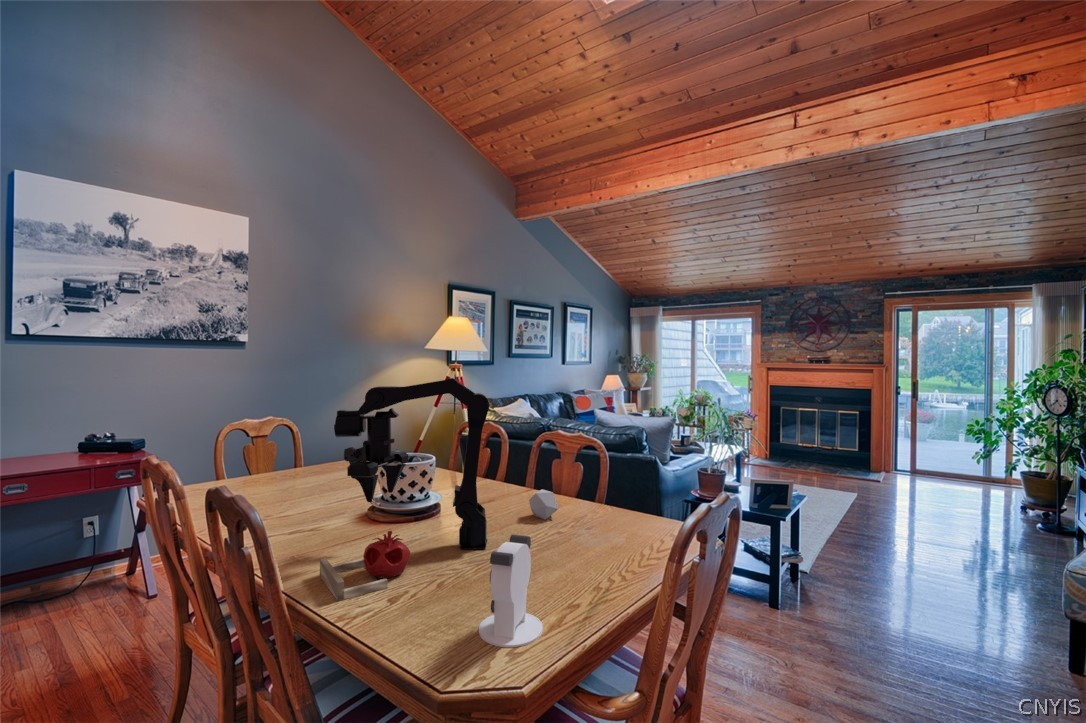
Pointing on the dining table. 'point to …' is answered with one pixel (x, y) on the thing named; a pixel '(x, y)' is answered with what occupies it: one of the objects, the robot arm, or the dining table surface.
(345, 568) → the cradle
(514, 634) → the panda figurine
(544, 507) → the die
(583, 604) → the dining table surface
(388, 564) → the pomegranate
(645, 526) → the dining table surface
